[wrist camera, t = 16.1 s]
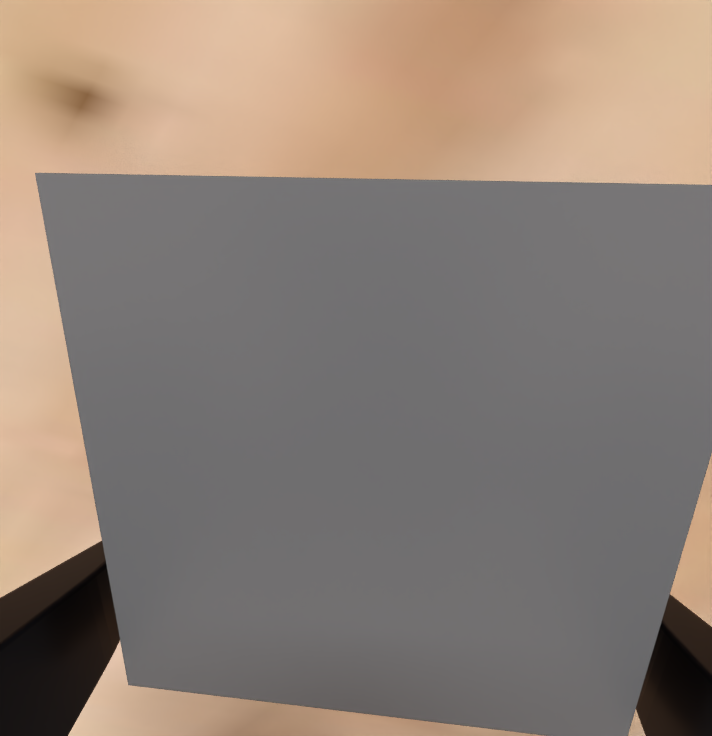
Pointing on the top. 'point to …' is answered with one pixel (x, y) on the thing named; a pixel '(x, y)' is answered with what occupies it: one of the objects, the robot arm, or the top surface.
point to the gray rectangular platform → (390, 434)
